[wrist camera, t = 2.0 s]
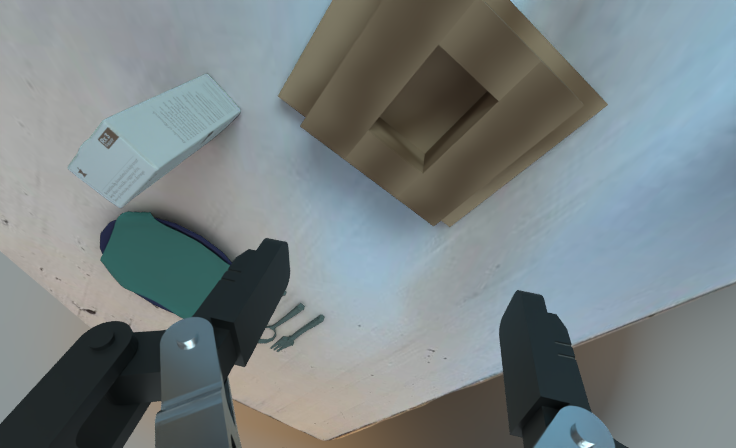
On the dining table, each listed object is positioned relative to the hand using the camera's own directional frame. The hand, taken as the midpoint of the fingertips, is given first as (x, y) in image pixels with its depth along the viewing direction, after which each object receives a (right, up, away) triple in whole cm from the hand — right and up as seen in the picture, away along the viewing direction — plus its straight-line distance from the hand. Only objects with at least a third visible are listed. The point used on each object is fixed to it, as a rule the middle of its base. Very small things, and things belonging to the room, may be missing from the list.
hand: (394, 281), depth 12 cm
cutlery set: (-23, -7, +38) cm, 45 cm away
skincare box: (-16, +13, +20) cm, 29 cm away
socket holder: (+4, +12, +16) cm, 21 cm away
